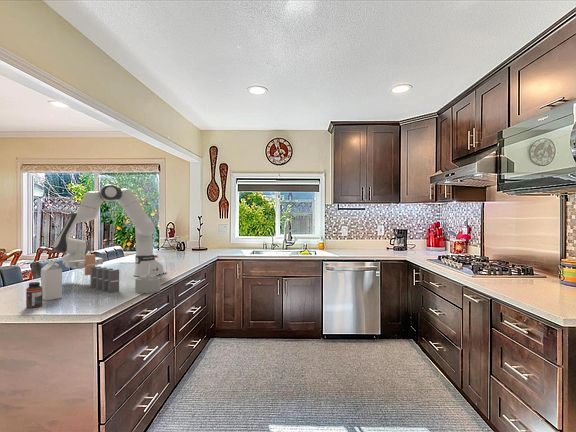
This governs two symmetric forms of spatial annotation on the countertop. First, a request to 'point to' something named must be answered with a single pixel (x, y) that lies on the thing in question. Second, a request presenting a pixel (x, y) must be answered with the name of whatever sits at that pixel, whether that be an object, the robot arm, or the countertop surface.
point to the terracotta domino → (89, 263)
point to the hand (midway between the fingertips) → (90, 263)
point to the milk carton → (51, 281)
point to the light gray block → (147, 284)
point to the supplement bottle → (34, 295)
